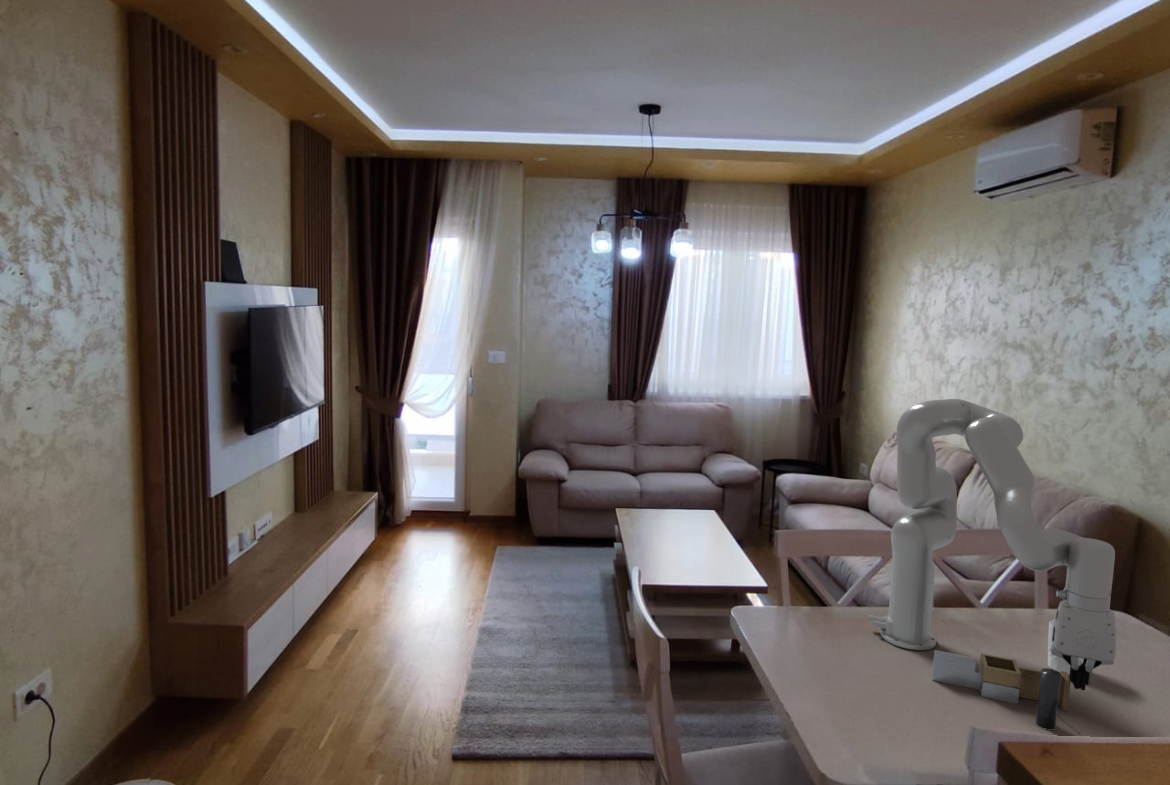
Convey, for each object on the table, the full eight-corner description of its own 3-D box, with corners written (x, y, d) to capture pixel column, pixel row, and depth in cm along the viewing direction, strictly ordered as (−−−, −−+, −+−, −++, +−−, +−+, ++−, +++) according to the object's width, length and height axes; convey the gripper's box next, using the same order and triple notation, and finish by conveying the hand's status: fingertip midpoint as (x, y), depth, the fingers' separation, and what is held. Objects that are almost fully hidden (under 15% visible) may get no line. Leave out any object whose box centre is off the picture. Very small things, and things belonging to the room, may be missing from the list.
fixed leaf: (932, 686, 153) (935, 657, 152) (931, 672, 159) (933, 644, 158) (1017, 703, 147) (1020, 674, 146) (1012, 688, 153) (1015, 659, 152)
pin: (1037, 727, 138) (1043, 674, 137) (1034, 718, 141) (1040, 666, 140) (1056, 731, 137) (1062, 678, 136) (1053, 723, 140) (1058, 670, 139)
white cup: (1092, 679, 158) (1097, 636, 157) (1053, 674, 159) (1058, 632, 158) (1075, 662, 165) (1080, 621, 164) (1038, 658, 167) (1043, 617, 166)
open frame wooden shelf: (981, 695, 149) (984, 667, 148) (978, 680, 155) (980, 653, 155) (1069, 713, 143) (1072, 684, 143) (1061, 697, 149) (1064, 669, 149)
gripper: (1047, 600, 142) (1039, 687, 144) (1138, 614, 137) (1128, 703, 139) (1039, 587, 149) (1032, 670, 151) (1125, 600, 144) (1116, 685, 146)
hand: (1078, 686), depth 145 cm, fingers closed
